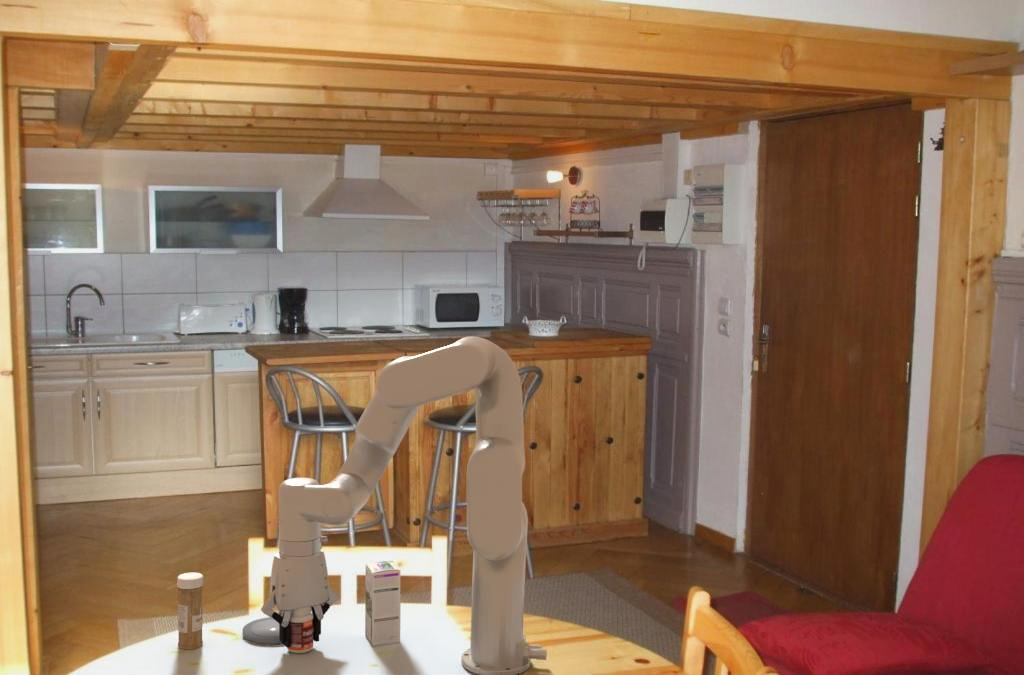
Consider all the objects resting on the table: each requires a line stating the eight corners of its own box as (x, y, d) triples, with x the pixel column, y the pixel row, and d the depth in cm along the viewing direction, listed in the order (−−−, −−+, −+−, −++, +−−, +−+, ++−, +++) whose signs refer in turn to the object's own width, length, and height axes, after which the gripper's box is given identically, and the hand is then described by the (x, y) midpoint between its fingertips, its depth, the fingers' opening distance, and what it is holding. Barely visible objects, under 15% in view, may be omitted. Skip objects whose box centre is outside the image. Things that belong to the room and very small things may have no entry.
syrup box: (401, 643, 196) (402, 568, 195) (370, 646, 194) (372, 571, 192) (393, 632, 201) (394, 559, 200) (363, 635, 199) (364, 562, 198)
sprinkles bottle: (204, 648, 191) (205, 577, 189) (179, 652, 189) (179, 580, 187) (200, 639, 195) (200, 570, 194) (175, 643, 193) (175, 573, 192)
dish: (314, 624, 204) (314, 618, 204) (294, 647, 192) (294, 641, 192) (256, 619, 206) (256, 614, 206) (232, 642, 194) (232, 636, 194)
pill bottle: (307, 654, 188) (307, 610, 188) (283, 652, 189) (282, 607, 189) (317, 645, 193) (317, 601, 192) (293, 642, 194) (293, 599, 193)
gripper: (334, 534, 197) (334, 627, 199) (248, 547, 188) (248, 644, 190) (351, 544, 191) (351, 639, 193) (262, 558, 182) (262, 658, 183)
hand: (300, 641), depth 191 cm, fingers closed on pill bottle, 4 cm apart
